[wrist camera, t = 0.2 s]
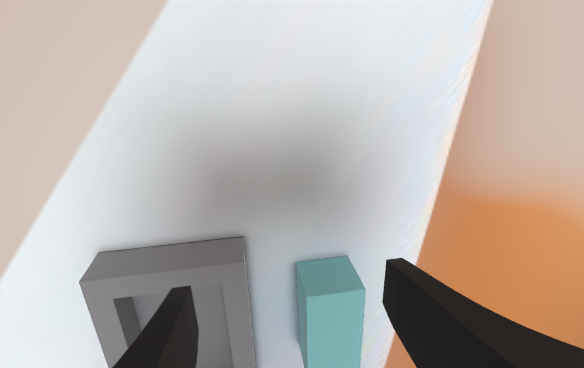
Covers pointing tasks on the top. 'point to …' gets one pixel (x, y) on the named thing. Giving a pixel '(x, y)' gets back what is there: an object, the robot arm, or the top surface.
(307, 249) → the top surface
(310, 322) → the peg
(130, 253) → the socket block
